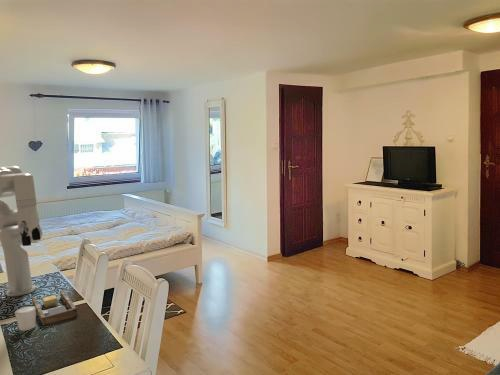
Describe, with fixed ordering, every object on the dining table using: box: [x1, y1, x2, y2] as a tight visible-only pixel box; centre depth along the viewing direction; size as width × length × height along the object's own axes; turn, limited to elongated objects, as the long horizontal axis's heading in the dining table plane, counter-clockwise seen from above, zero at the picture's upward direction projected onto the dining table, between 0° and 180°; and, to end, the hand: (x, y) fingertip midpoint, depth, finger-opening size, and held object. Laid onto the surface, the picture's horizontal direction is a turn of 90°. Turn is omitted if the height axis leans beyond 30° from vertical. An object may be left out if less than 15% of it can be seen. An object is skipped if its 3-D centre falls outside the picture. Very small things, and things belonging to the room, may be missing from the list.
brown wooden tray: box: [31, 289, 78, 326], centre depth 168 cm, size 26×12×3 cm, turn 36°
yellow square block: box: [41, 294, 59, 308], centre depth 174 cm, size 5×5×3 cm
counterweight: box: [47, 305, 67, 315], centre depth 161 cm, size 6×6×3 cm
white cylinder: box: [14, 305, 37, 332], centre depth 153 cm, size 7×7×7 cm
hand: (32, 242), depth 173 cm, fingers open, 9 cm apart
